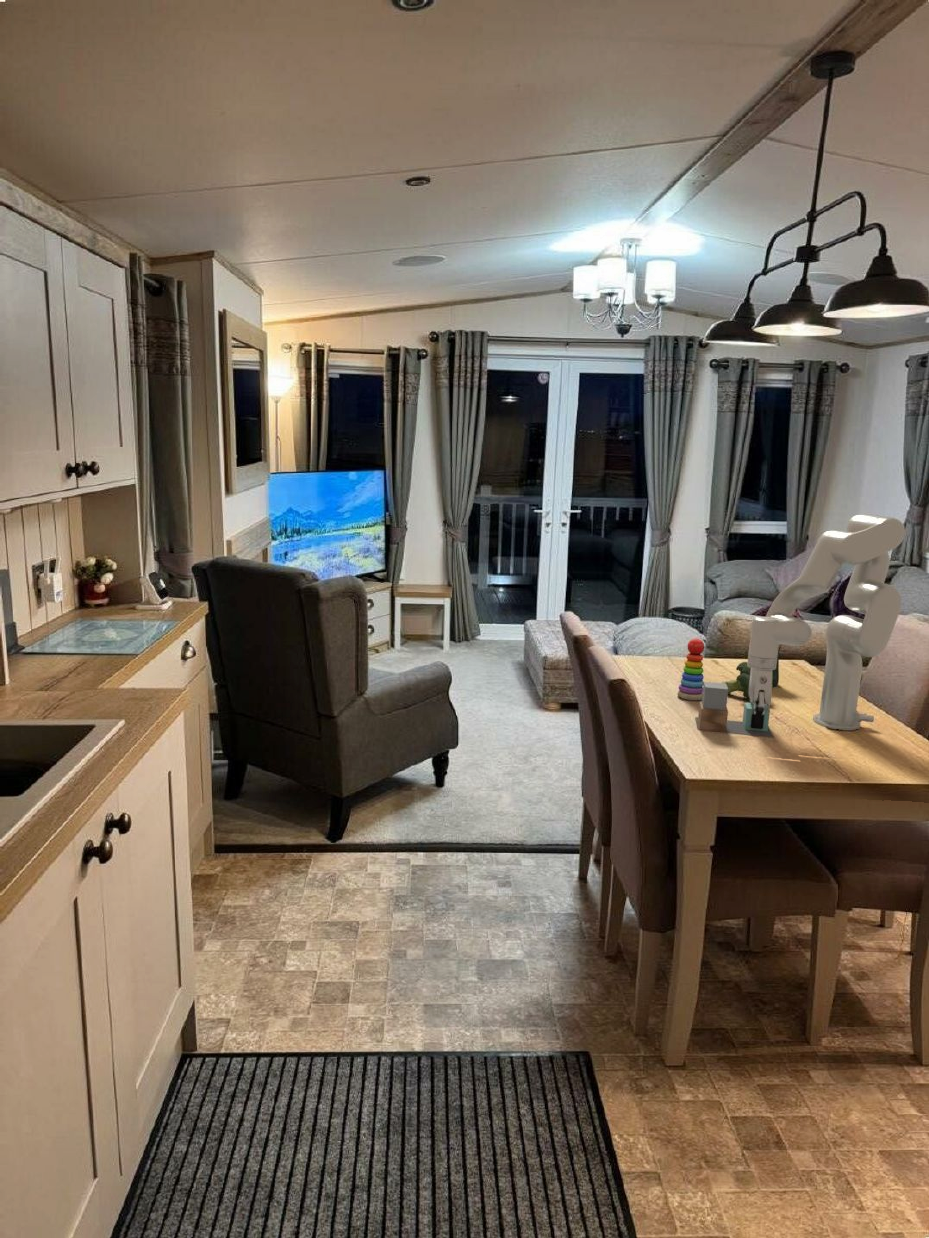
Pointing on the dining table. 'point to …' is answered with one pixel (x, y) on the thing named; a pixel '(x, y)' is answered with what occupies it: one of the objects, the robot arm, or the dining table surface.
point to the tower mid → (714, 696)
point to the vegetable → (740, 680)
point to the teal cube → (748, 715)
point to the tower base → (712, 719)
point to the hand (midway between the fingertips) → (755, 723)
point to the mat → (741, 729)
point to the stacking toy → (693, 672)
